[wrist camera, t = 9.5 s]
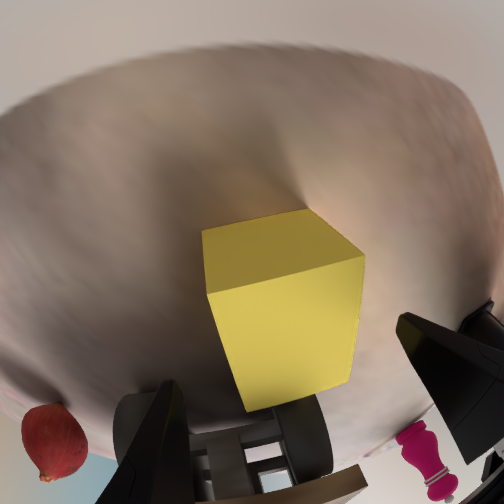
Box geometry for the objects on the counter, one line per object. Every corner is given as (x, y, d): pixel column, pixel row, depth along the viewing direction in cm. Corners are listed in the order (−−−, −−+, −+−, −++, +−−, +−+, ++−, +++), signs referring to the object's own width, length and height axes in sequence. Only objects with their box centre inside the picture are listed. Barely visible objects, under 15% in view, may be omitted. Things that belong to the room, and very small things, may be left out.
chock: (307, 207, 12) (365, 254, 8) (312, 319, 16) (348, 381, 11) (201, 229, 12) (206, 294, 8) (231, 340, 15) (246, 412, 11)
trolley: (305, 333, 16) (378, 477, 7) (305, 432, 23) (335, 510, 15) (108, 371, 15) (92, 514, 6) (185, 456, 22) (196, 536, 13)
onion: (99, 406, 16) (90, 494, 9) (85, 428, 18) (78, 499, 10) (34, 374, 14) (9, 460, 7) (31, 401, 15) (14, 472, 8)
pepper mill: (417, 428, 38) (456, 494, 20) (389, 444, 37) (426, 516, 20) (429, 412, 35) (475, 485, 17) (399, 431, 34) (443, 510, 16)
